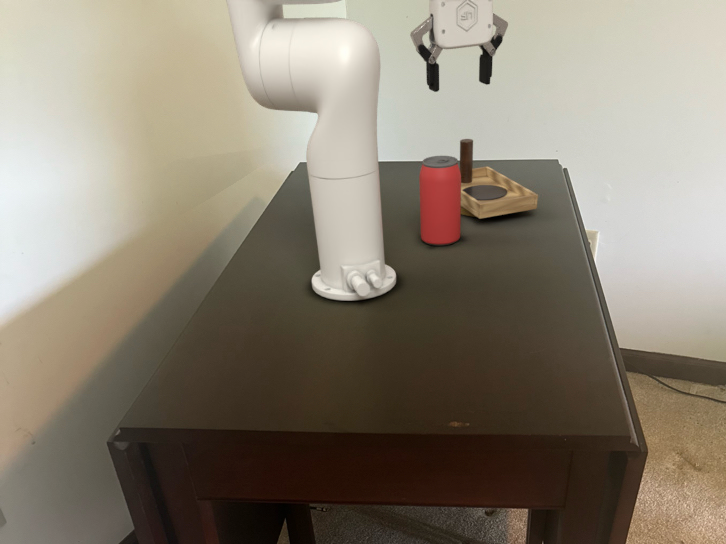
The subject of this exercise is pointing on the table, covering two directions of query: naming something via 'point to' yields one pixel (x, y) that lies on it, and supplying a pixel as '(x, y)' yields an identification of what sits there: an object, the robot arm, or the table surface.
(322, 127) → the robot arm
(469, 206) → the tray
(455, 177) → the beer can
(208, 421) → the table surface
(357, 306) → the table surface
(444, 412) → the table surface
